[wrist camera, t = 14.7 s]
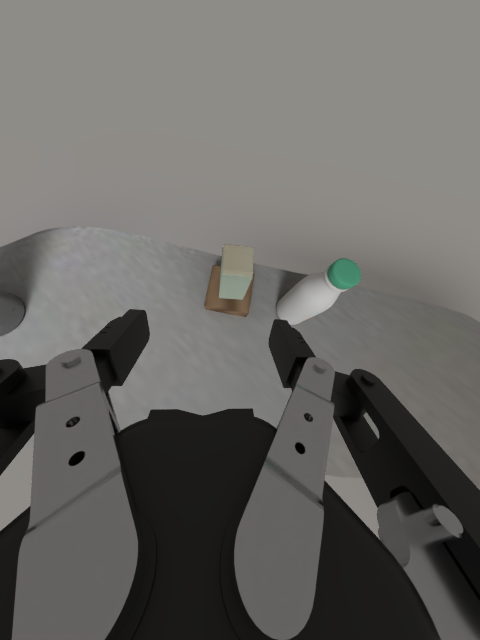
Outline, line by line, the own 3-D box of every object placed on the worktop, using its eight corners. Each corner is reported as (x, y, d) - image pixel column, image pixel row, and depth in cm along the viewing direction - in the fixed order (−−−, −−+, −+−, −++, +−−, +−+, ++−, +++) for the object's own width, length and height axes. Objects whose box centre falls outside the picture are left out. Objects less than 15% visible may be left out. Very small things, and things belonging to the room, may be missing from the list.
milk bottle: (285, 330, 43) (344, 304, 23) (269, 304, 44) (313, 258, 24) (309, 317, 44) (381, 283, 25) (293, 292, 46) (351, 241, 26)
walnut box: (205, 309, 41) (204, 304, 37) (213, 273, 44) (213, 264, 40) (245, 317, 42) (248, 312, 38) (250, 281, 45) (254, 273, 41)
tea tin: (218, 297, 38) (221, 270, 27) (220, 276, 40) (223, 242, 29) (242, 299, 39) (254, 273, 28) (242, 278, 40) (254, 246, 30)
